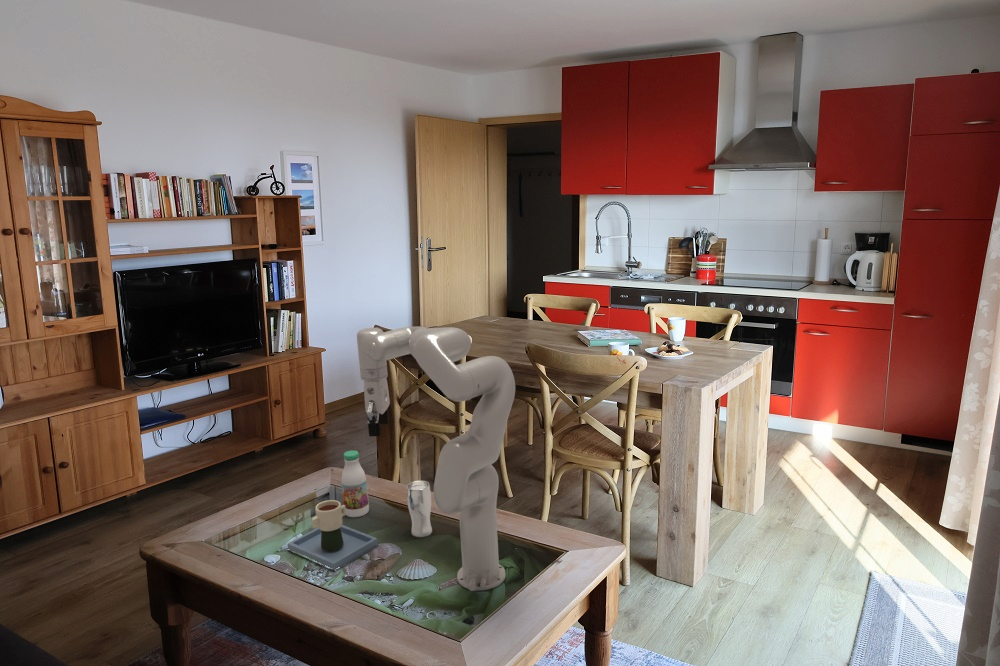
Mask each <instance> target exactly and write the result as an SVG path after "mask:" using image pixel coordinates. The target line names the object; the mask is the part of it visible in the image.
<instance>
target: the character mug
mask: <svg viewBox="0 0 1000 666" xmlns="http://www.w3.org/2000/svg"><path fill="white" fill-rule="evenodd" d="M345 516H346V507H345V505H344V504H342V503H341V502H340V501H338V500H336V499H329V500H328V499H327V500H324V501H321V502H319V503H317V504H316V505H315V516H314V517H312V518H311V524H312V525H311V526H312V530H314V529H316V528H319V529H320V530H322V532H321V548H322V549H324V550H328V551H334V550H338V549H340V548H341V547H342V546H343V543H344V542H343V537H342V534H341V530H340V527H341V526H342V525H343V522H344V521H343V517H345Z"/></svg>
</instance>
